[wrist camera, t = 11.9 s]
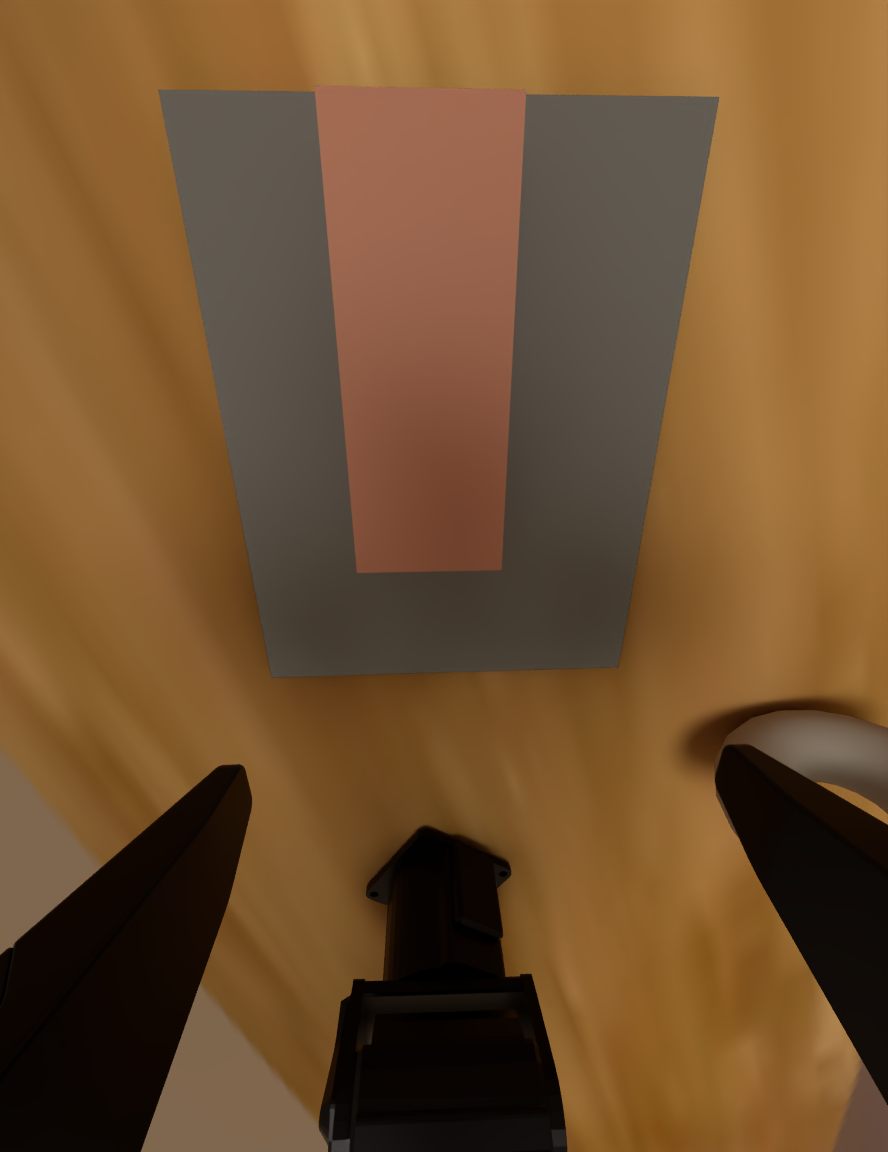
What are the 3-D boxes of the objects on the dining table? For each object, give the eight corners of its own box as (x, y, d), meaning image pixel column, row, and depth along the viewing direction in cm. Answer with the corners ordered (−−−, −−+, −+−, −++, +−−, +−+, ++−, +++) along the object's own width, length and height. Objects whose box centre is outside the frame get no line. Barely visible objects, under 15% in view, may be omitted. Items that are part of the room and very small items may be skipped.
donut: (671, 759, 25) (809, 980, 16) (676, 708, 24) (831, 920, 15) (857, 735, 25) (1101, 945, 16) (873, 683, 24) (1151, 882, 15)
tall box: (501, 570, 16) (526, 89, 11) (357, 573, 16) (314, 85, 11) (490, 540, 19) (505, 142, 14) (366, 542, 19) (335, 140, 14)
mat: (613, 660, 23) (618, 667, 22) (275, 669, 22) (271, 677, 21) (708, 107, 14) (719, 96, 14) (169, 100, 14) (158, 89, 13)
